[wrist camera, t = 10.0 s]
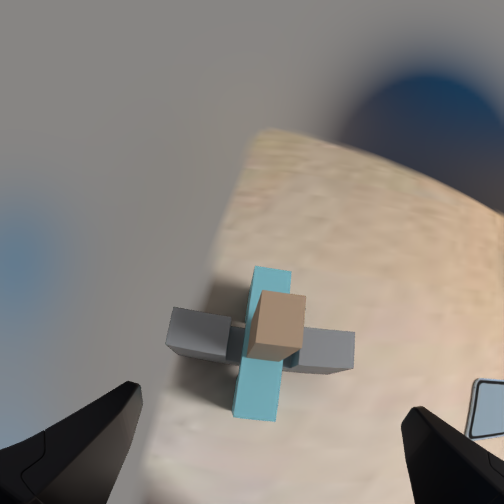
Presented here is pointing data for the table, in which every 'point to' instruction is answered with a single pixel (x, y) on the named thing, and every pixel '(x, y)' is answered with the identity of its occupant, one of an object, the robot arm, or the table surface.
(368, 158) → the table surface
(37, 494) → the robot arm
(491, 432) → the smartphone
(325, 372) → the slotted bar
